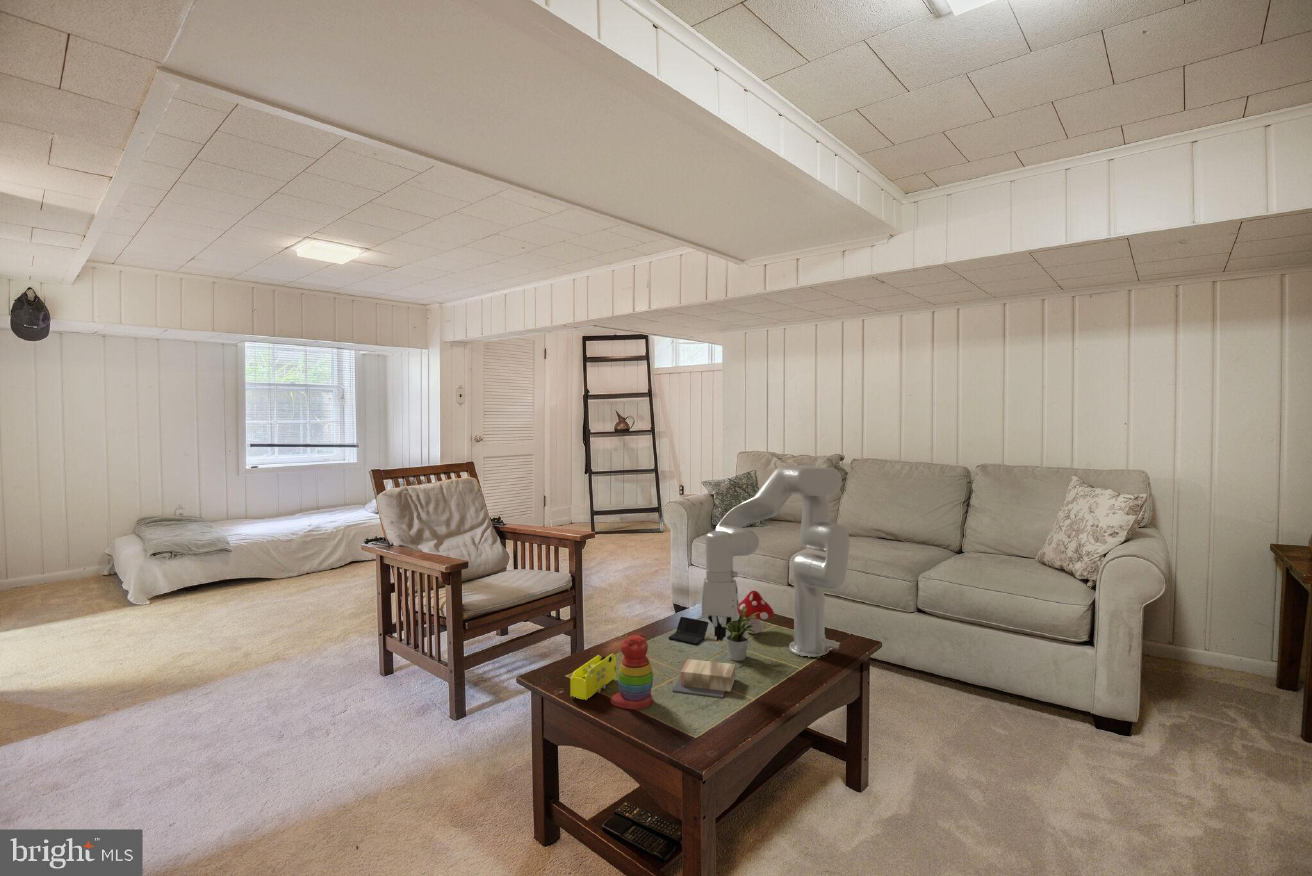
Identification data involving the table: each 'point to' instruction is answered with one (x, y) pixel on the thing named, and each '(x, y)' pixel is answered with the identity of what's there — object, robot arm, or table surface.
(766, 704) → the table surface
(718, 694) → the mat
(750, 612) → the decorative mushroom
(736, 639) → the house plant
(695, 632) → the handheld gaming console
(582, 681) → the yellow toy chassis
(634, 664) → the stacking bear
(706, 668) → the maple block
